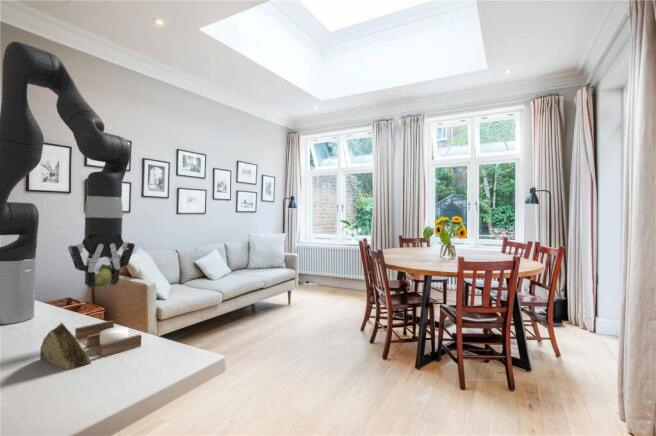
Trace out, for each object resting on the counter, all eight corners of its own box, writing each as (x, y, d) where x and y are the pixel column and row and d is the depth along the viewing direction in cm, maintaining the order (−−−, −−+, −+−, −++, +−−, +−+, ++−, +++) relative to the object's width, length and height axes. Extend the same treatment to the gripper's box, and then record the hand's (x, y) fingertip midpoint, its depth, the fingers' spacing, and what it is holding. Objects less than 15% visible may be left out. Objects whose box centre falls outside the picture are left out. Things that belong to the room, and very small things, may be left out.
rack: (75, 342, 81) (75, 328, 81) (111, 333, 87) (112, 320, 87) (102, 361, 71) (102, 345, 71) (140, 350, 78) (141, 335, 78)
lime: (97, 289, 78) (97, 267, 78) (86, 286, 80) (86, 265, 80) (117, 285, 82) (117, 265, 82) (106, 283, 84) (106, 263, 84)
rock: (22, 354, 69) (21, 365, 61) (55, 315, 73) (58, 322, 65) (74, 374, 74) (79, 387, 66) (103, 338, 78) (110, 345, 70)
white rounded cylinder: (93, 348, 76) (94, 332, 76) (117, 340, 81) (118, 325, 81) (110, 352, 73) (110, 336, 73) (133, 343, 79) (134, 329, 79)
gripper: (128, 215, 89) (126, 279, 89) (62, 214, 78) (60, 288, 78) (142, 216, 85) (140, 284, 85) (74, 215, 73) (72, 293, 73)
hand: (102, 285), depth 81 cm, fingers closed on lime, 4 cm apart
